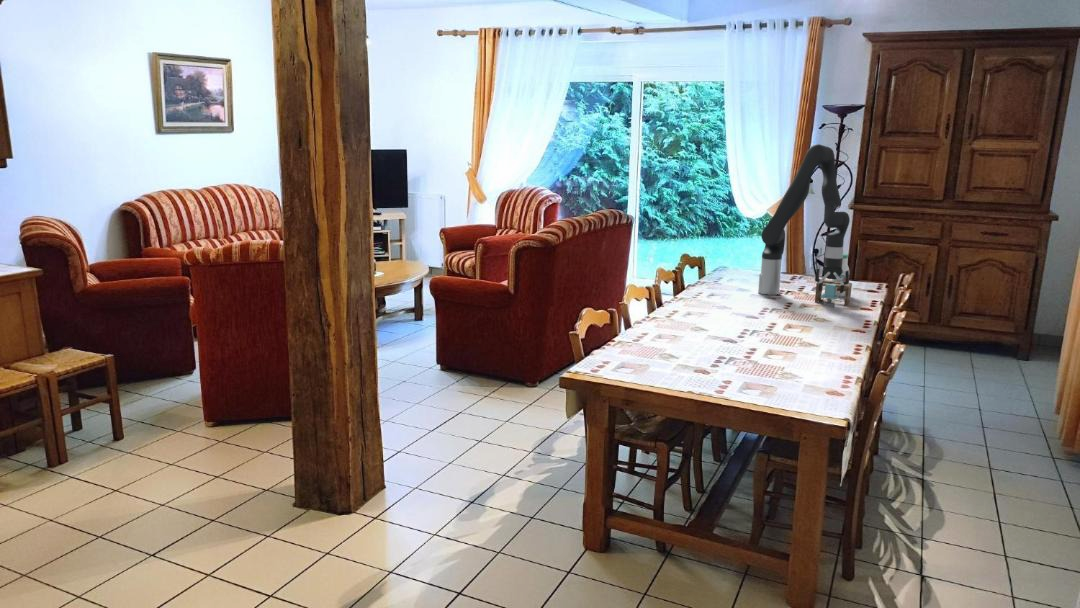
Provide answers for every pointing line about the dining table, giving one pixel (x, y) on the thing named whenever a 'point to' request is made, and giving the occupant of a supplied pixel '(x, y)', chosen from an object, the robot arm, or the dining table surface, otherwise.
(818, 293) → the brown keyhole frame
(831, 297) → the teal peg
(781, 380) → the dining table surface
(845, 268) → the milk bottle
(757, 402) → the dining table surface
